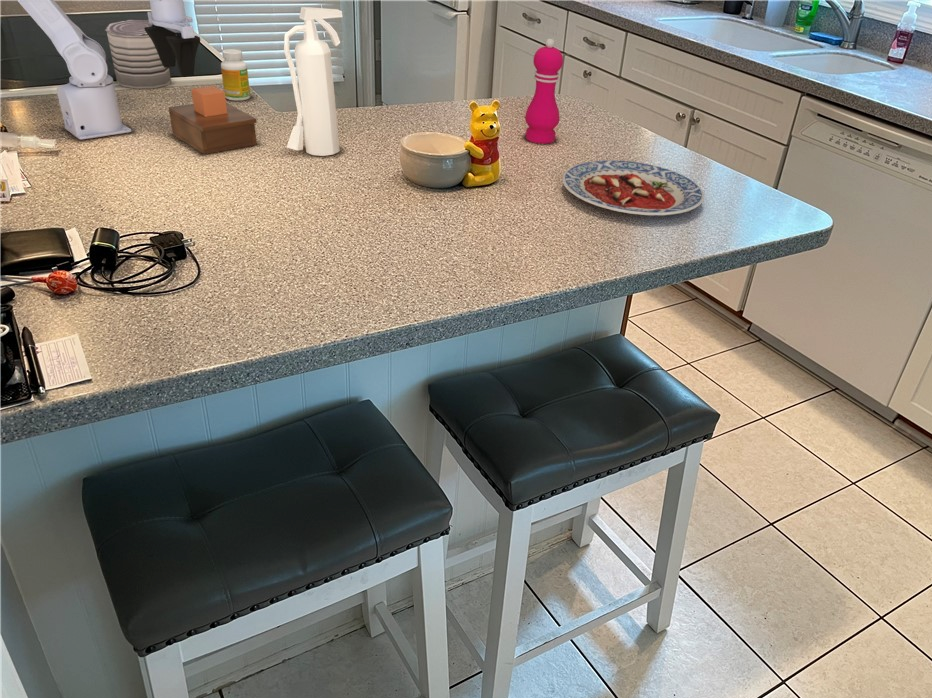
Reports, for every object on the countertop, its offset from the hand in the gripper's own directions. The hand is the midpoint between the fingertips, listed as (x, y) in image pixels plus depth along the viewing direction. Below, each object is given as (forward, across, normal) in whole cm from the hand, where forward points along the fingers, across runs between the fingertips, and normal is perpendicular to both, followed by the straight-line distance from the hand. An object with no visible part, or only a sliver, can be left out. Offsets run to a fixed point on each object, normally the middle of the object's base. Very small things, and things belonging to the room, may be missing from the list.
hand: (178, 71), depth 147 cm
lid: (+6, -10, -1) cm, 12 cm away
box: (+10, -10, -1) cm, 14 cm away
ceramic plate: (+11, -74, -49) cm, 89 cm away
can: (+10, +33, -6) cm, 35 cm away
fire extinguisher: (+11, -25, -14) cm, 30 cm away
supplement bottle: (+11, +13, -18) cm, 24 cm away
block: (+5, -10, -1) cm, 11 cm away
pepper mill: (+11, -42, -58) cm, 72 cm away
